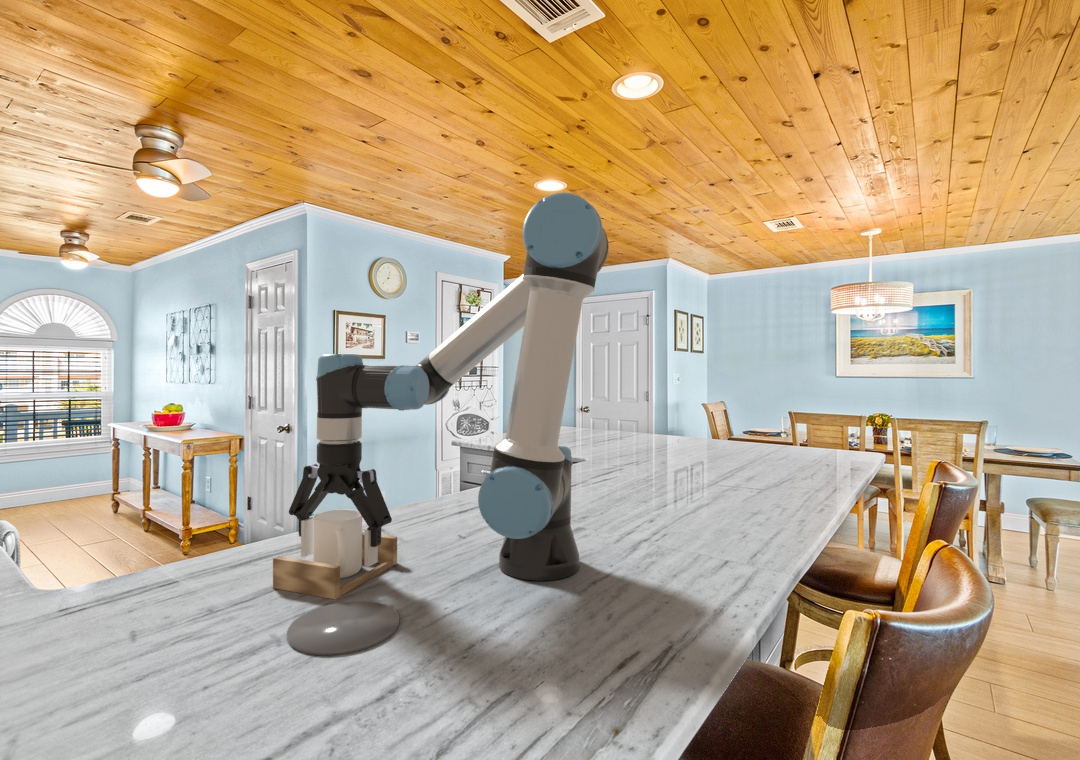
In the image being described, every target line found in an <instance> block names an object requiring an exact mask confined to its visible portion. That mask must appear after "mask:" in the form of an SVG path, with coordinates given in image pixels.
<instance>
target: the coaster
mask: <svg viewBox="0 0 1080 760" xmlns="http://www.w3.org/2000/svg"><path fill="white" fill-rule="evenodd" d="M399 617H400V615H399V614H398V612H397V611H396V610H395V609H394V608H392V607H391V606H389V605H387V604H384V603H380V602H376V601H365V600H357V601H354V600H353V601H352V600H351V601H343V602H337V603H331V604H327V605H324V606H321V607H317V608H315V609H312V610H310V611H308V612H306V613H304V614H301V616H299V617H297V618H296V619H295V620H294V621H292V622H291V624H289V626H288V628H287V630H286V641H287V643H288V645H289V646H290V647H291V648H293V649H294V650H295V651H298V652H301V653H304V654H307V655H313V656H338V655H346V654H351V653H352V654H353V653H356V652H359V651H363V650H366V649H369V648H372V647H374V646H377V645H378V644H381V643H382V642H384V641H386V640H387V639H389V638H390V637H391V636H392V635H393V634H394V633H395V632H396V630H397V629H398V627H399V624H400V623H399V622H400V620H399V619H400V618H399Z"/></svg>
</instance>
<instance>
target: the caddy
mask: <svg viewBox="0 0 1080 760" xmlns="http://www.w3.org/2000/svg"><path fill="white" fill-rule="evenodd" d="M364 556H365V531H362V562H363V561H364ZM377 563H378V564H379V565H377V566H376V567H374V568H372V569H370V570H368V571H366V572H364V573H363V574H361V575H360V576H358V577H356V578H354V579H352V580H350V581H348V582H347V583H345V584H343V585H342V586H341V578H340V566H338V565H332V564H325V563H319V562H314V560H313V561H311V560H305V559H299V558H293V557H287V556H281V555H278V556H276V557H273V558H272V589H276V590H283V591H288V592H293V593H299V594H304V595H310V596H315V597H320V598H326V599H332V600H336V599H339V598H340V597H342V596H343V595H345V594H347V593H348V592H350V591H352V590H354V589H355V588H357V587H358V586H360V585H362V584H364V583H366V582H367V581H369V580H370V579H373V578H374V577H375V576H378V575H379V574H381V573H382V572H385V571H386V570H389V568H392V567H393V566H395V565H396V564H398V536H392V535H386V534H385V535H384V534H381V544H380V545H379V546H378V562H377Z"/></svg>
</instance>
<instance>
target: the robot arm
mask: <svg viewBox="0 0 1080 760" xmlns="http://www.w3.org/2000/svg"><path fill="white" fill-rule="evenodd" d="M522 240H523V241H522V242H523V245H524V249H525V250H526V255H525V260H524V261H525V262H524V267H523V273H522V274H521V275H520V276H519V277H517V278H516V279H515V280H514V281H513V282H512V283H511V284H509V285H508V286H507V287H505V289H503V290H502V291H501V292H499V294H497V296H495V297H494V298H492V300H491V301H490V302H488V303H487V304H486V305H485V306H484V307H482V308H481V309H480V310H479V311H477V312H476V313H475V314H474V315H473V316H472V317H470V319H469V320H467V321H466V322H465V323H464V324H463V325H461V326H460V327H459V328H458V329H457V330H455V332H453V333H452V334H451V335H449V337H447V338H446V339H445V340H444V341H443V342H442V343H440V344H439V345H438V346H437V347H436V348H435V349H433V350H432V351H431V352H429V354H428V355H427V356H425V357H424V358H423V359H422V360H421V361H420V362H419V363H417V364H416V365H365V364H364V363H363V357H362V356H361V355H360V354H354V353H352V354H351V353H350V354H349V353H348V354H347V353H324V354H321V355H320V356H319V358H318V361H317V373H316V374H317V375H316V378H315V381H316V395H317V397H316V399H317V413H316V415H317V416H316V439H317V440H319V442H318V443H316V462H317V463H318V464H319V465H318V464H317V463H314V464H310V465H305V466H304V467H303V470H302V479H301V481H300V484H299V486H298V489H297V490H296V493H295V495H294V498H293V499H292V501H291V505H290V507H289V510H288V514H289V515H290V516H295V517H296V518H297V520H298V537H300V556H301V558H306V557H307V556H310V555H312V554H314V516H315V515H314V512H315V511H316V509H317V508H318V507H319V506H320V504H321V503H322V502H323V500H324V499H326V498H325V497H326V496H327V495H329V494H338V495H341V496H343V495H345V496H346V497H347V498H348V499H350V500H351V502H352V503H353V505H354V506H355V508H356V510H357V511H359V513H360V514H361V516H362V520H364V522H365V524H366V525H367V526H368V527H366V528H364V533H365V556H364V567H366V568H369V567H371V566H372V565H375V564H376V563H377V562H378V546H379V545H380V544H381V535H382V527H384V526H386V525H388V524H390V523H392V521H393V519H392V518H393V517H392V516H391V513H390V511H389V509H388V506H387V503H386V501H385V499H384V495H383V493H382V491H381V488H380V487H379V483H378V481H377V480H378V479H377V471H376V469H374V468H372V469H369V470H361V468H360V464H361V461H362V460H363V459H362V458H363V457H362V455H363V454H362V453H363V451H362V450H363V449H362V448H363V445H362V444H363V443H362V442H361V441H360V439H361V438H362V435H363V432H362V430H363V429H362V427H363V426H362V425H363V424H362V423H363V418H362V416H363V409H380V410H381V409H384V410H398V411H409V410H413V411H414V410H419V409H421V408H423V406H424V405H426V406H427V405H433V404H436V403H438V402H440V401H441V400H444V399H445V398H446V397H447V395H448V394H449V391H450V388H451V387H452V386H453V385H455V384H456V383H457V382H458V381H460V380H461V379H462V378H463V377H464V376H466V375H467V374H468V373H469V372H470V371H472V370H473V369H474V368H475V367H476V366H478V365H479V364H480V363H481V362H482V361H484V360H485V359H487V357H488V356H490V355H491V354H492V353H493V352H494V351H496V350H497V349H498V348H499V347H500V346H502V345H503V344H504V343H506V342H507V341H508V340H509V339H510V338H511V337H513V336H514V335H515V334H516V333H517V332H519V331H520V330H521V329H522V328H523V332H522V337H521V344H520V348H519V349H520V350H519V353H518V354H519V356H518V362H517V367H516V372H515V379H514V385H513V391H512V397H511V402H510V409H509V413H508V414H509V415H508V420H507V427H506V431H505V436H504V437H503V438H501V440H499V441H498V442H496V443H495V444H494V448H493V454H492V460H491V464H490V465H491V466H490V470H489V473H488V474H487V475H486V476H485V478H484V480H483V482H481V485H480V487H479V491H478V497H477V502H478V504H477V505H478V510H479V512H480V515H481V517H482V519H483V520H484V521H485V523H486V524H487V525H488V527H489V528H490V529H491V530H493V531H494V532H495V533H497V534H499V535H500V536H503V537H504V538H503V542H502V545H501V548H500V552H499V555H498V556H499V557H498V558H499V559H498V560H499V563H498V566H499V569H500V571H502V572H503V573H504V574H506V575H507V576H510V577H513V578H516V579H519V580H520V579H521V580H525V581H542V582H543V581H555V580H560V579H564V578H568V577H571V576H572V575H575V574H576V573H577V572H578V571H579V570H580V553H579V550H578V547H577V546H578V545H577V542H576V539H575V536H574V533H573V530H572V526H571V525H572V522H571V521H572V520H571V518H572V517H571V514H572V513H571V511H572V510H571V509H572V468H573V467H572V466H573V464H574V463H573V462H574V461H573V459H572V450H571V449H570V448H569V447H568V446H566V445H565V446H564V445H558V443H559V439H560V432H561V427H562V420H563V415H564V410H565V404H566V399H567V393H568V392H567V391H568V388H569V387H568V385H569V380H570V375H571V369H572V363H573V358H574V353H575V346H576V342H577V341H576V340H577V335H578V329H579V324H580V317H581V312H582V308H583V307H582V306H583V302H584V299H585V298H586V297H587V296H590V295H591V294H592V293H593V292H594V291H595V288H596V287H595V286H596V281H597V276H598V273H599V272H600V271H601V269H602V268H603V266H605V264H606V261H607V258H608V255H609V238H608V235H607V232H606V230H605V229H604V227H603V225H602V219H601V216H600V214H599V212H598V211H597V209H596V208H595V207H594V206H593V205H592V204H590V202H589V201H588V200H587V199H585V198H584V197H582V196H580V195H578V194H574V193H571V192H557V193H556V192H555V193H552V194H549V195H546V196H545V197H543V198H541V199H540V200H539V201H537V202H536V203H535V204H534V205H533V206H532V207H531V208H530V209H529V211H528V213H527V215H526V216H525V218H524V221H523V225H522ZM318 478H319V480H320V482H318V484H317V485H316V486H315V484H316V482H317V480H318ZM361 483H362V484H361ZM314 487H315V488H314ZM313 489H314V491H313ZM312 492H313V493H312Z"/></svg>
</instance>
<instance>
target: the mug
mask: <svg viewBox="0 0 1080 760" xmlns="http://www.w3.org/2000/svg"><path fill="white" fill-rule="evenodd" d="M313 517H314V553H313V562H319V563H325V564H332V565H338V566H340V579H345V578H348V577H351V576H354V575H356V574H358V573H359V572H360V570H361V568H362V566H363V561H362V532H363V517H362V516H361V514H360V513H359V511H358V509H347V508H343V509H341V508H340V509H332V510H331V509H330V510H326V511H322V512H318V513H317V514H315V515H313Z"/></svg>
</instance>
